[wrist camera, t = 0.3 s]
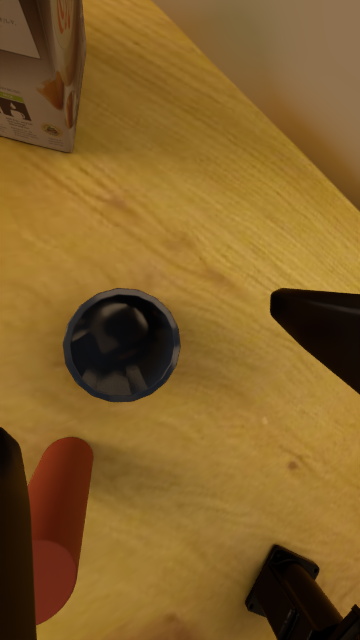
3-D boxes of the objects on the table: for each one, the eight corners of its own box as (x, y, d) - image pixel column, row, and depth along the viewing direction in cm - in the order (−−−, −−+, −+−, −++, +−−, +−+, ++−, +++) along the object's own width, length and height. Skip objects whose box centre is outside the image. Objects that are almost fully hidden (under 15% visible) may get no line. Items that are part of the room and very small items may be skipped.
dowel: (102, 449, 22) (94, 557, 12) (75, 492, 21) (44, 641, 12) (60, 428, 21) (13, 527, 11) (30, 472, 20) (-45, 616, 11)
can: (174, 323, 23) (200, 327, 16) (132, 389, 22) (141, 422, 15) (109, 280, 22) (108, 265, 15) (62, 349, 21) (37, 366, 14)
